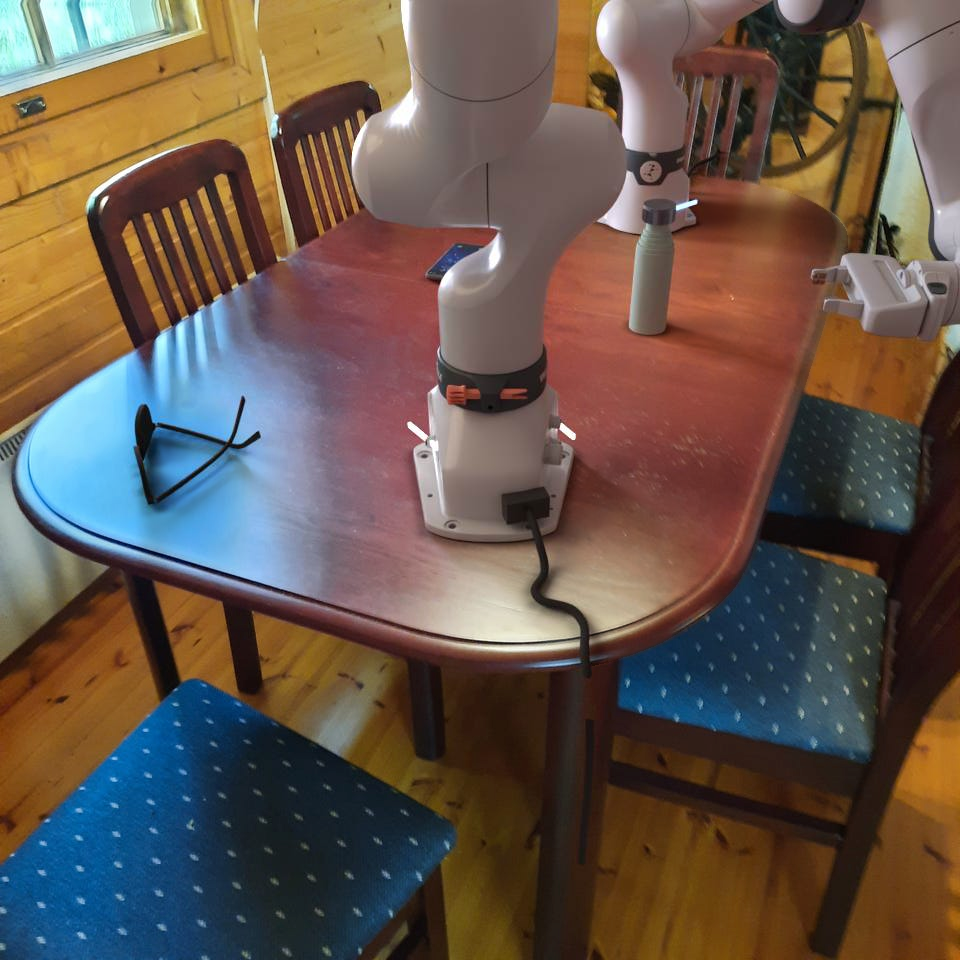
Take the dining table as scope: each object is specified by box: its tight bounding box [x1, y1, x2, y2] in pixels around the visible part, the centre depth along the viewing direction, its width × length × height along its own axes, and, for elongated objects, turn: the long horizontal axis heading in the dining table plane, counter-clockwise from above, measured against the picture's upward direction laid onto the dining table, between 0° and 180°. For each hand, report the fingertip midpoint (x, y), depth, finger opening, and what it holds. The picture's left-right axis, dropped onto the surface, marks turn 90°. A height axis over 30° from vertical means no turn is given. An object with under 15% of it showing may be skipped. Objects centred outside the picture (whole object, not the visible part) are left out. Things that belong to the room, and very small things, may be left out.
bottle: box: [628, 223, 676, 336], centre depth 121 cm, size 5×5×18 cm
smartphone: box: [424, 242, 487, 282], centre depth 146 cm, size 7×1×15 cm
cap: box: [642, 199, 676, 225], centre depth 117 cm, size 4×4×2 cm
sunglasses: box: [132, 395, 262, 506], centre depth 100 cm, size 17×14×5 cm
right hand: (817, 289), depth 119 cm, fingers open, 8 cm apart
